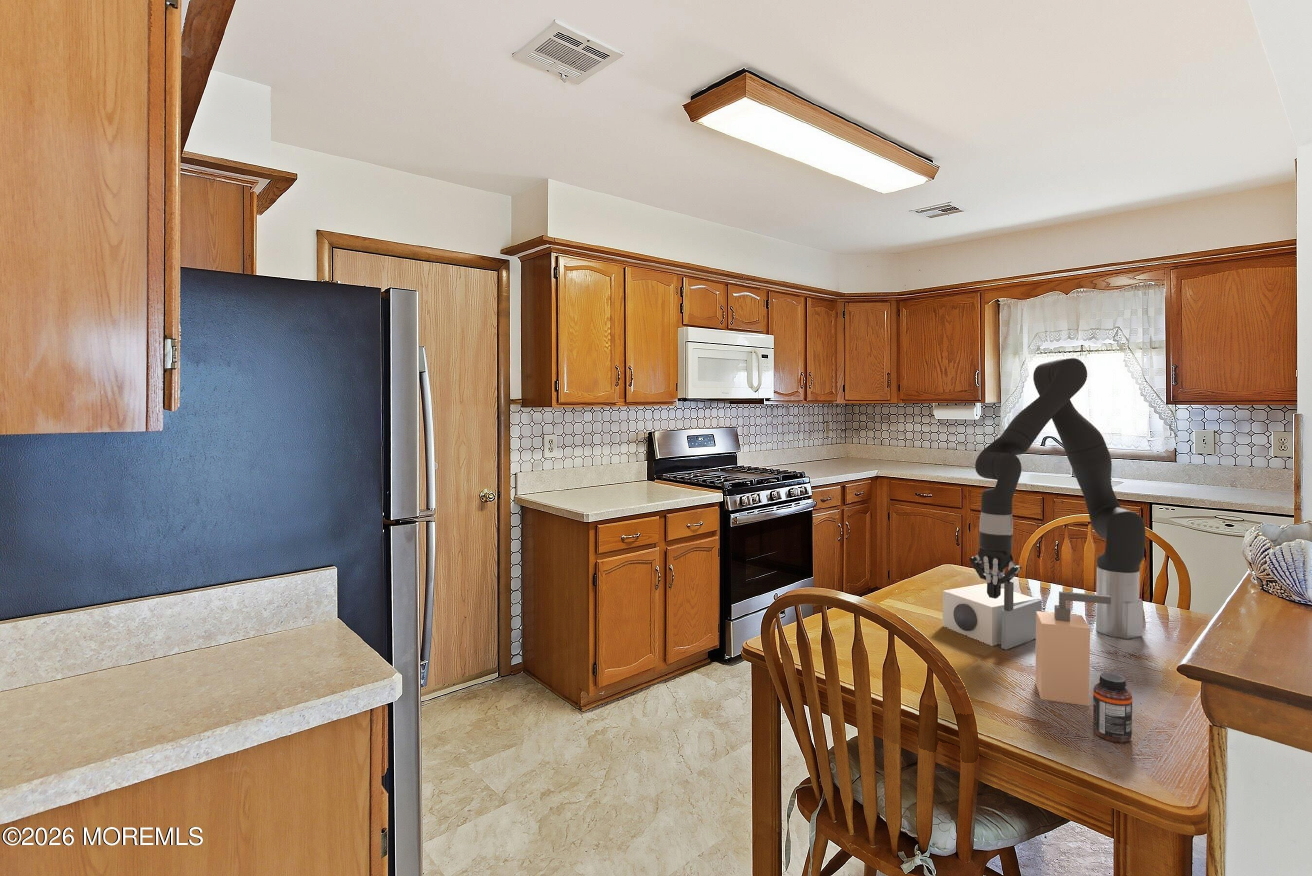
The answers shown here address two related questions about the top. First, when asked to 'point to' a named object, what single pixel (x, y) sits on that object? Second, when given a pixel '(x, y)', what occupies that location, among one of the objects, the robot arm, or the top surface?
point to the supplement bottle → (1112, 708)
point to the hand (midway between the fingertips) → (993, 597)
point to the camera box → (977, 612)
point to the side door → (1018, 619)
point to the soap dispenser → (1064, 651)
